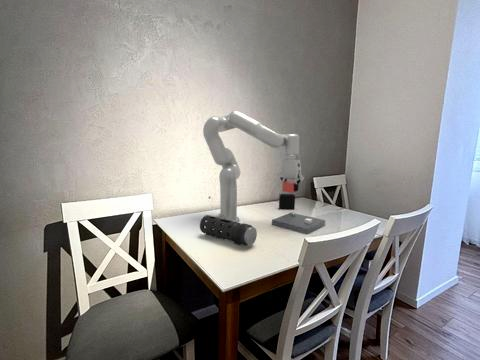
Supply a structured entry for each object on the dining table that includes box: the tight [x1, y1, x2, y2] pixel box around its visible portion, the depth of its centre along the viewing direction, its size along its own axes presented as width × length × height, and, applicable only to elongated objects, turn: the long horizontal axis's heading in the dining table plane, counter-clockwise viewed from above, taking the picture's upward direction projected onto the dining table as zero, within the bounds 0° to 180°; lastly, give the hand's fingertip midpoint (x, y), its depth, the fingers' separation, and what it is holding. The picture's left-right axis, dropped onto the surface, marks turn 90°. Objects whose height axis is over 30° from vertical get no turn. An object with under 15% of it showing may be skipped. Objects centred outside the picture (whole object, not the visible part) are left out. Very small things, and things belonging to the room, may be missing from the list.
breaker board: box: [271, 212, 326, 235], centre depth 162 cm, size 20×22×4 cm
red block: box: [281, 180, 298, 194], centre depth 159 cm, size 6×6×5 cm
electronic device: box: [278, 193, 296, 211], centre depth 196 cm, size 4×10×10 cm, turn 89°
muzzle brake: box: [199, 214, 258, 247], centre depth 137 cm, size 10×28×10 cm, turn 53°
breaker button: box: [305, 218, 312, 224], centre depth 158 cm, size 3×3×4 cm
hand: (290, 190), depth 159 cm, fingers closed on red block, 6 cm apart
